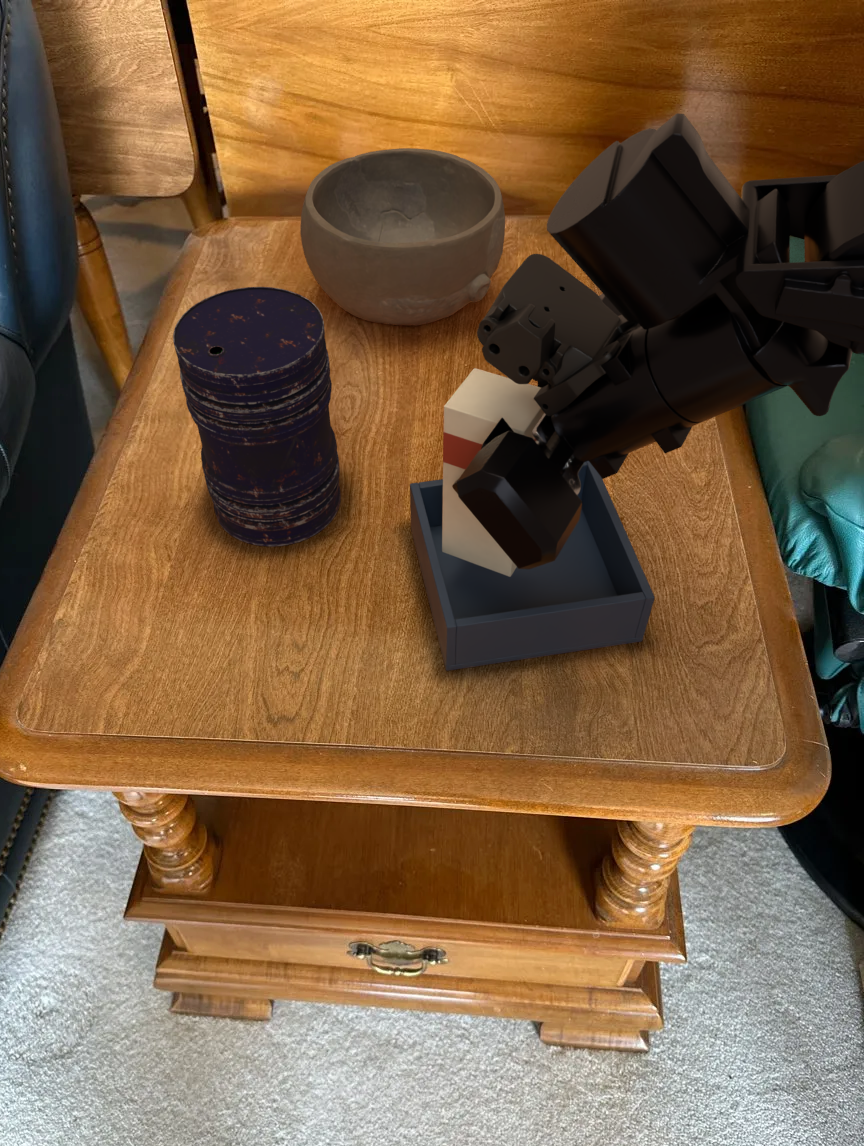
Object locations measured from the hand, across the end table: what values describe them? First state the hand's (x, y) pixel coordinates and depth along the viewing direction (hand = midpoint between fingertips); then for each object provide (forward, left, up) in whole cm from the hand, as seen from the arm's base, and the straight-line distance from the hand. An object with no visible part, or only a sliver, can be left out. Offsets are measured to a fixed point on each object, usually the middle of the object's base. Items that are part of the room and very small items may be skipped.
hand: (473, 469), depth 59 cm
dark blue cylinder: (+13, -10, -10) cm, 19 cm away
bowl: (-1, -35, -10) cm, 37 cm away
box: (-3, +1, -10) cm, 10 cm away
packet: (-1, +1, -6) cm, 6 cm away
